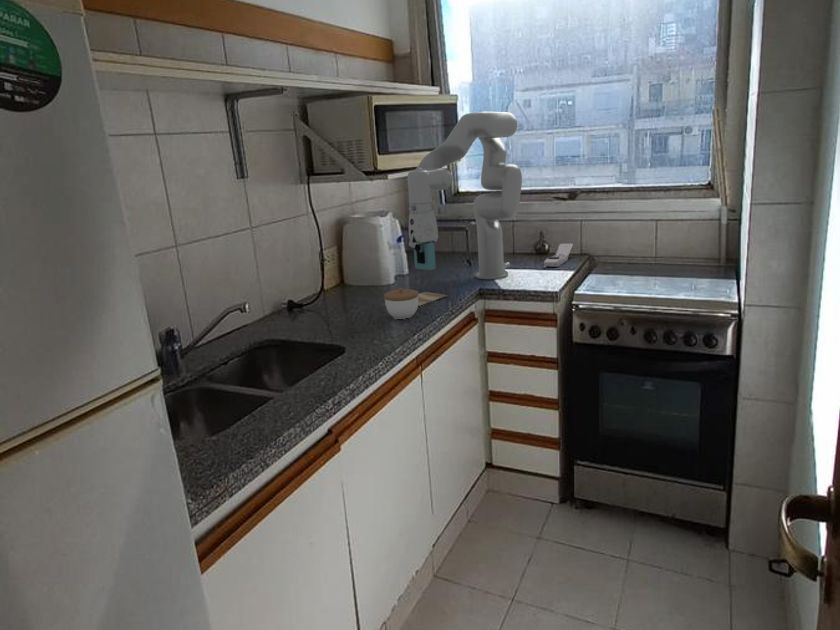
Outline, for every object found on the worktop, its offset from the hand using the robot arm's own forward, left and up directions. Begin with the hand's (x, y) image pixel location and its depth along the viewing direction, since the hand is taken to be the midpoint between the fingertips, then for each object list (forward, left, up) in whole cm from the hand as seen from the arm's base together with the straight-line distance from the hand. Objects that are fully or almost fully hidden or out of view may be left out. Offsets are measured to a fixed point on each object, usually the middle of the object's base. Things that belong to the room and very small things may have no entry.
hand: (424, 261), depth 209 cm
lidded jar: (+21, +9, -13) cm, 26 cm away
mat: (+4, 0, -13) cm, 13 cm away
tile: (0, 0, -2) cm, 2 cm away
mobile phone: (-68, +10, -13) cm, 70 cm away
